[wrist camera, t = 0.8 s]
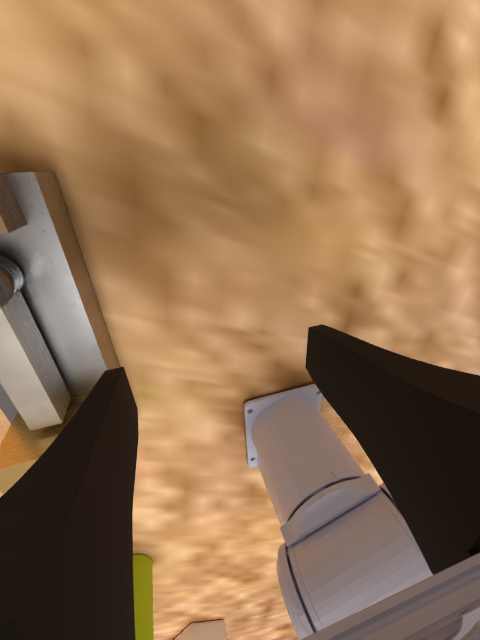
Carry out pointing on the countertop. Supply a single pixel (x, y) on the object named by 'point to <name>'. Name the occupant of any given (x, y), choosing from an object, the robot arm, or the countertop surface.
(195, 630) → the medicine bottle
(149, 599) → the soap dispenser
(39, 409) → the steel lever
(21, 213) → the grey piece
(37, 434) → the brushed gold cube
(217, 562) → the countertop surface
